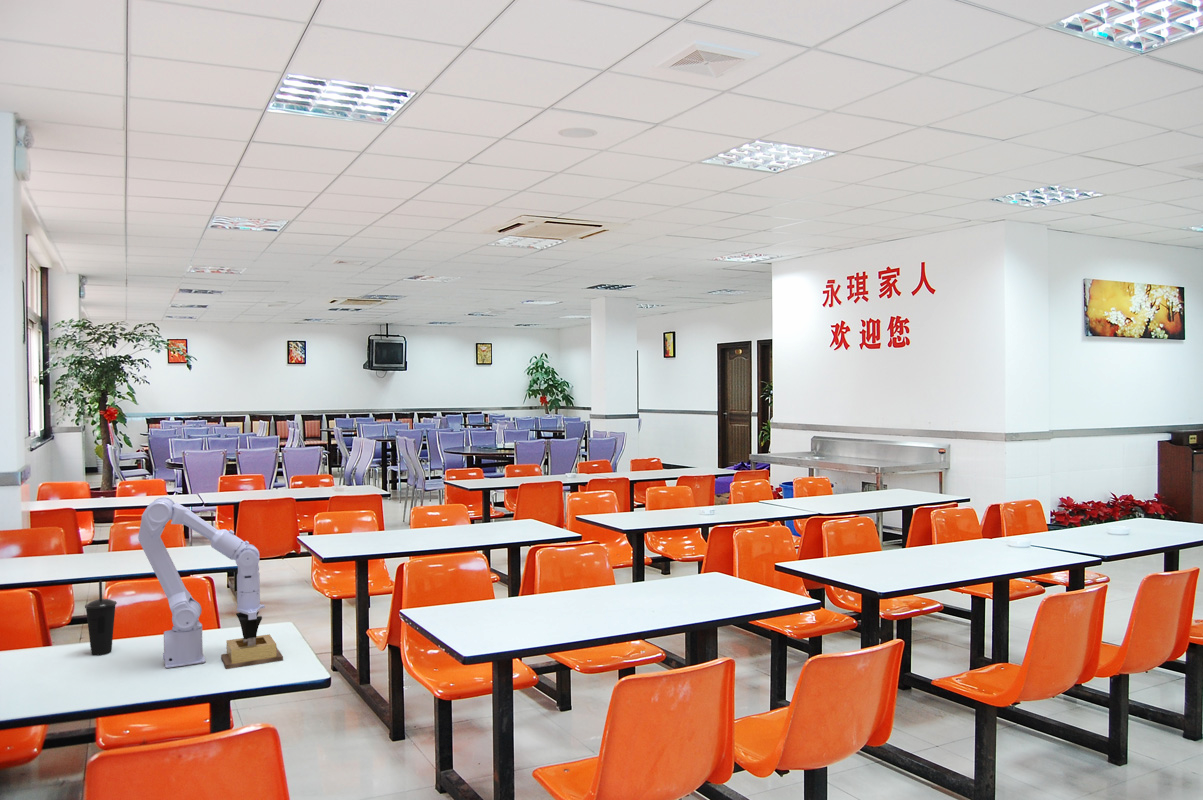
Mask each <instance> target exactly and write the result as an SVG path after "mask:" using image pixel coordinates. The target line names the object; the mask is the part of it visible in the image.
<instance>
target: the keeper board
mask: <svg viewBox="0 0 1203 800" xmlns="http://www.w3.org/2000/svg"><path fill="white" fill-rule="evenodd" d="M243 643H248V646H252V645H256V638H255V637H251V638H248V639H244V640H243ZM220 659H221V662H222V664H223V665H224V669H226V670H228V669H235V668H241V667H247V666H256V665H259V664H260V665H263V664H266V663H267V664H268V663H273V662H274V663H275V662H280V661H283V660H284V656H283V654H282V653H281V652H280V650H279V649H278V647H277V646H276V657H274V658H267V659H261V660H254V661H248V662H241V663H234V664H231V661H230V659H229V657H228V655H227V653H223V654H221V655H220Z"/></svg>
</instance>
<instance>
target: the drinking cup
mask: <svg viewBox="0 0 1203 800" xmlns="http://www.w3.org/2000/svg"><path fill="white" fill-rule="evenodd" d="M98 593H99V594H98V597H99V599H98V598H97V599H94V600H91V601H90V602H89V603H86V604H85V605H84V608H85V610H86V611H85V612H86V620H87V628H88V636H89V637H88V638H89V646H90V654H91V655H92V656H96V657H97V656H102V655H109V654H110V653H112V651H113V650H112V648H113V638H114V629H115V628H114V625H115V616H116V615H115V614H116V605H117V603H118V601H116V600H113V599H109V598H103V580H99V581H98Z"/></svg>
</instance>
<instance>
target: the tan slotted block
mask: <svg viewBox="0 0 1203 800" xmlns="http://www.w3.org/2000/svg"><path fill="white" fill-rule="evenodd" d="M244 639H245V638H244V637H242V638H235V639H234V638H233V639H226V641H225V642H226V654H227V655H228V657H229V659H230V661H231V664H234V663H241V662H248V661H254V660H261V659H267V658H274V657H276V647H277V642H275V640H274V638H273V637H272V636H271V635H270V634H263V635H256V645H252V646H248V644H247V643H243V640H244Z"/></svg>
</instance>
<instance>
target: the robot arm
mask: <svg viewBox="0 0 1203 800" xmlns="http://www.w3.org/2000/svg"><path fill="white" fill-rule="evenodd" d="M170 520H171V522H170V525H184V526H186V527H188V528H189V529H191V530H193V531H195V533H198V534H200V535H201V536H202V537H204V538H206V539H208V540H209V541H210V546H211V548H212V549H213V550H216V551H217V552H219V553H220V554H221V555H223V556H225V557H226V558H228V559H229V560H233V561H235V564H236V566H237V574H236V594H237V595H236V599H237V600H236V601H237V602H236V603H237V605H236V606H237V607H236V617H237V619H238V621H239V624H240V629H241V634H242V638H245V639H248V638H251V637H255V638H256V636H258V635H257V634H258V629H259V626H260V624H261V622H262V620H263V616H262V615H258V614H259V611H260V610H261V609H265V607H266V606H265V604H263V603H262V604H261V585H260V582H261V581H260V580H261V578H260V566H259V562H260V559H261V558H260V555H261V554H260V551H259V549H258V548H257V547H256V546H255V545H254V544H250V542H249V541H248V540H245V541H244V540H243V539H242V538H240V537H238V536H237V535H235V531H234V530H232V529H230V530H227V528H225V529H217V528H215V527H214V526H213V525H211V524H210V523H209V522H207V521H206V520H205V519H202V518H201V516H199V515H197V514H196V513H195V512H193V511H192V510H190V509H188V508H187V507H186V506H184V505H182V504H180V503H178V502H175V501H173V500H172V498H169V497H164V496H163V497H158V498H156V499H154V501H152V502H151V503H149V504H148V505H147V507H146V508H145V510H144V511H143V513H142V514H141V520H140V526H139V531H138V536H137V539H138V542H139V544H140V547H141V549H142V551H143V552H144V554H145V556H146V559H148V562H149V564H150V566H151V569H152V570H153V572H154V574H155V576H156V577H157V580H158V583H159V584H160V585H161V588H162V590H163V592H164V594H165V596H166V598H167V601H168V605H169V609H170V611H171V614H172V615H171V616H172V617H171V621H172V629H170V630H165V631H163V652H162V660H163V663H164V667H165V668H166V669H169V668H170V669H171V668H177V667H182V666H183V667H184V666H190V665H197V664H203V663H206V662H207V661H206V658H205V655H204V653H203V623H201V622H200V620H199V618H200V616H201V615H202V606H201V604H200V603H199V602H198V601H197V600H195V599H194V598H193V596H192V595H191V592H190V591H188V590H187V589H188V588H186V586H185V584H184V582H183V580H182V577H181V576H180V573H179V572H178V570H177V567H176V566H175V564H174V562H173V559H172V557H171V556H170V553H169V551H168V549H167V548H166V546H165V544H164V541H163V540H162V537H161V536H162V534H163V531H164V530H165V527H166V525H167V523H168V522H169V521H170ZM247 644H248V643H247Z"/></svg>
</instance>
